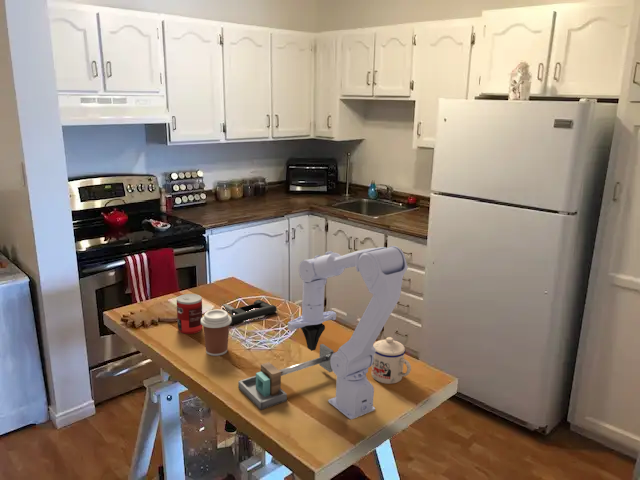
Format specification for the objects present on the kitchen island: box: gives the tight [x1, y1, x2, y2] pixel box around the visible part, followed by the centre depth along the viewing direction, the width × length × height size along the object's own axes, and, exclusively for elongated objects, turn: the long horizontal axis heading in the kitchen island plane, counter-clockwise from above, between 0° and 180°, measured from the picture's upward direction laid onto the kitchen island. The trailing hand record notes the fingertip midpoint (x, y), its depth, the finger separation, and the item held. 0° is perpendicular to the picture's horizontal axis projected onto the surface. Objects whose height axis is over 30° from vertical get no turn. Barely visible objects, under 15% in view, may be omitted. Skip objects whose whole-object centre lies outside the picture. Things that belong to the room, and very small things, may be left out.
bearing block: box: [260, 361, 282, 396], centre depth 137 cm, size 6×2×7 cm, turn 36°
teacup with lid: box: [371, 336, 412, 385], centre depth 146 cm, size 12×9×12 cm
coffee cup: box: [201, 309, 232, 357], centre depth 157 cm, size 9×9×12 cm
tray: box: [237, 375, 288, 411], centre depth 137 cm, size 12×8×2 cm, turn 36°
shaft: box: [278, 343, 335, 377], centre depth 143 cm, size 5×17×6 cm, turn 126°
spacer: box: [255, 371, 270, 397], centre depth 136 cm, size 5×2×5 cm, turn 36°
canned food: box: [176, 293, 203, 335], centre depth 171 cm, size 8×8×11 cm
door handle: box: [221, 299, 278, 326], centre depth 186 cm, size 3×20×16 cm
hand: (311, 348), depth 143 cm, fingers closed
